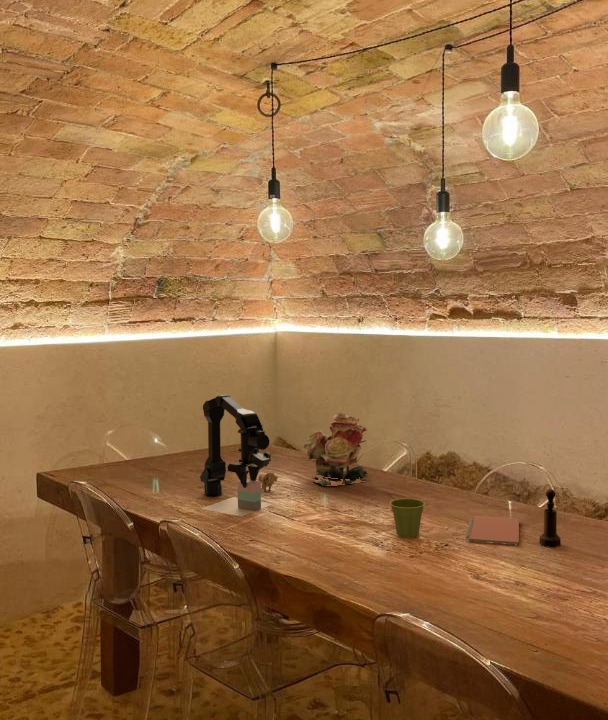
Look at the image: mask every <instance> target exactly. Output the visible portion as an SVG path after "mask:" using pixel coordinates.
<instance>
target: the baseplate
mask: <svg viewBox="0 0 608 720" xmlns="http://www.w3.org/2000/svg"><path fill="white" fill-rule="evenodd" d="M272 505H273V503H270V502H263V501H262V499H261V500H259V501H256V502H251V501H245V500H239V499H238V497H235V496H234V497H229V498H227V499H225V500H221V501H219V502H216V503H212V504H210V505H206V506H204V507H202V508H200V509H201V510H204V511H209V512H210V511H211V512H215V513H221V514H227V515H231V516H236V517H244V516H246V515H248V514H251V513H254V512H256V511H259V510H262V509H264V508H266V507H269V506H272Z"/></svg>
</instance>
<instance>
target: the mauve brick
mask: <svg viewBox="0 0 608 720" xmlns="http://www.w3.org/2000/svg"><path fill="white" fill-rule="evenodd" d="M238 490H239V491H246V492H252V493H256V492H259V491H261V492H262V483H261V482H260V481H258V480H256V481H253V480H250V479H247V485H246V488H243V486H242V484H241V482H240V480H237V491H238Z"/></svg>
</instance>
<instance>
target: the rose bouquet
mask: <svg viewBox="0 0 608 720" xmlns="http://www.w3.org/2000/svg"><path fill="white" fill-rule="evenodd" d="M332 419H334V421H330V422H329V423H330V425H329V430H330V432H331V433H332V434H331V435H328V434H325V433H324V432H323V431H322V429H320V430H316V431H313V433H311V434H310V435H309V436H308V438H307V439H306V440H305V441H306V442H307V443H306V444H304V445H303V449H305V450H306V452H305V454H306V457H308V460H313V462H314V463H315V467H316V470H315V473H314V474H316V475H321V476H324V477H331V478H338V479H343V482H342V484H351V483H352V482H353V481H346V480H345V479H359V477H360V478H361V481H366V482H367V480H366V479H367V478H366V477H365V475H368V474H369V473H368V472H367V471H366V469H365V467H362V466H363V463H362V464H360V465H358V466H355V467H352V468H350V466H352V465H354V464H357V463H358V457H359V455H360V451H361V448H362V446H361V444H364V443H366V442H367V441H368V440H363V439H364V434H363V433H364V432H366V431H367V428H366V427H364V426H363V425H361V424H360V425H357V424H358V422H359V421H360V418H357V419H356V418H355V417H354V416H353V417H352V416H349V415H347V414H345V413H344V414H343V413H342V412H339V413H336V414H335V415H333V416H332ZM320 480H321V481H319V482H315V484H316V483H318V484H320V485H321V486H322V487H323V486H327V485H331V482H330V481H326V480H323V479H320Z"/></svg>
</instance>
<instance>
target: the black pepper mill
mask: <svg viewBox="0 0 608 720" xmlns="http://www.w3.org/2000/svg"><path fill="white" fill-rule="evenodd" d="M545 496H546V498H547V502H546V507H547V508H544V509H543V533H541V534H540V536H539V545H540V544H541V546H542V545H544V546H543V547H546V546H550V547H549V548H557V547H556V546H558V547H560V546H561V536H559V535H558V534H557V516H558V515H557V514H558V513H557V509H554V507H555V503H554V498H555V497H556V491H555V490H554V489H551V488H549V489H546V491H545ZM559 545H560V546H559Z"/></svg>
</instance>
